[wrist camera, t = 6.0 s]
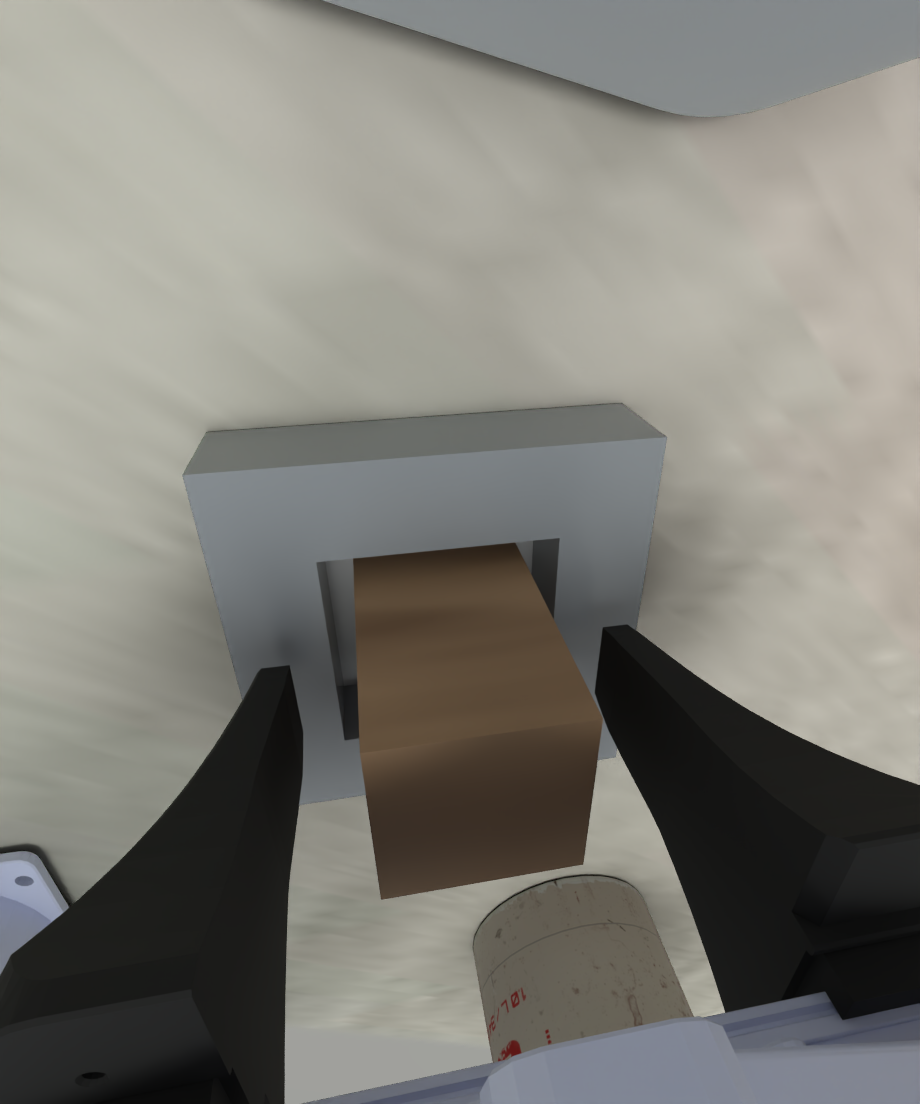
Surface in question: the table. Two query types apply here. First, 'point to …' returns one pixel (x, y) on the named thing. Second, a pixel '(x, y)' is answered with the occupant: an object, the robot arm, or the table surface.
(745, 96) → the plastic bottle
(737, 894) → the robot arm
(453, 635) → the wooden rectangular block
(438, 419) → the grey flat square frame
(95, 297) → the table surface
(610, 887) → the thermos bottle
